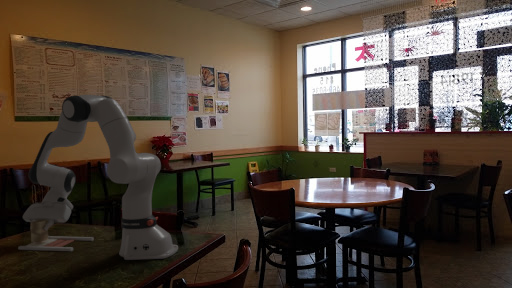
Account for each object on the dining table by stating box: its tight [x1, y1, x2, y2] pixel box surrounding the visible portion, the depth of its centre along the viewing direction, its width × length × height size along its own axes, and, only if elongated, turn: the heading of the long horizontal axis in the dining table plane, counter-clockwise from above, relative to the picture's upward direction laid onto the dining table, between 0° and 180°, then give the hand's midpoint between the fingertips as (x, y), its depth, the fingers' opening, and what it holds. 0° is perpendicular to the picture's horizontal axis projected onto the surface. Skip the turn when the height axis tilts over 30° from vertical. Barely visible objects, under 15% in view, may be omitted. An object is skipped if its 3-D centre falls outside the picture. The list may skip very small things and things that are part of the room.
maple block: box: [29, 220, 49, 243], centre depth 156 cm, size 4×4×8 cm
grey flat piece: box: [17, 235, 95, 252], centre depth 154 cm, size 24×15×1 cm, turn 82°
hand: (38, 229), depth 155 cm, fingers closed on maple block, 4 cm apart
